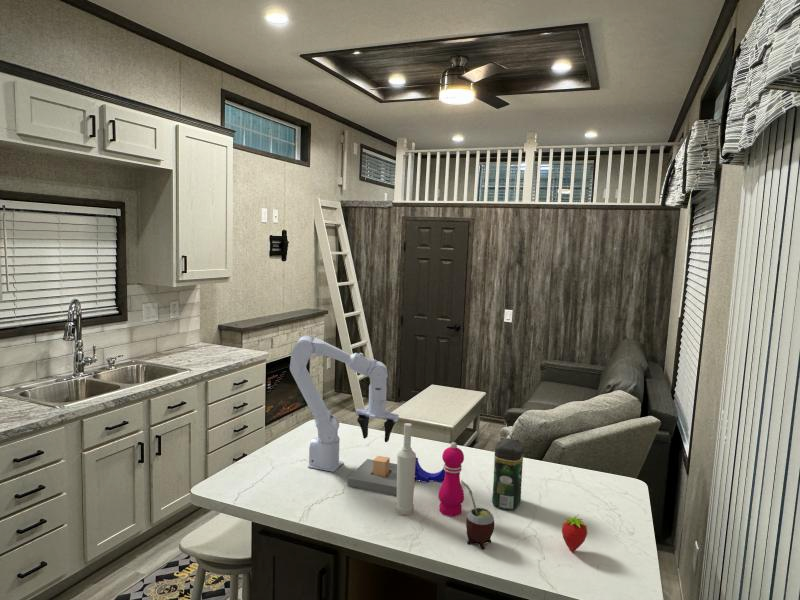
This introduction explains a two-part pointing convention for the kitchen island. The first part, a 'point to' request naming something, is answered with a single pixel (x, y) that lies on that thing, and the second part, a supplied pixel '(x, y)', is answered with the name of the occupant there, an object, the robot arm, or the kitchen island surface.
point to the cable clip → (428, 474)
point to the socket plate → (374, 478)
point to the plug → (381, 466)
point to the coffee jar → (507, 474)
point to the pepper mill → (451, 482)
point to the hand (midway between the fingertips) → (376, 439)
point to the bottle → (405, 475)
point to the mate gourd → (479, 524)
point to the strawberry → (574, 533)
